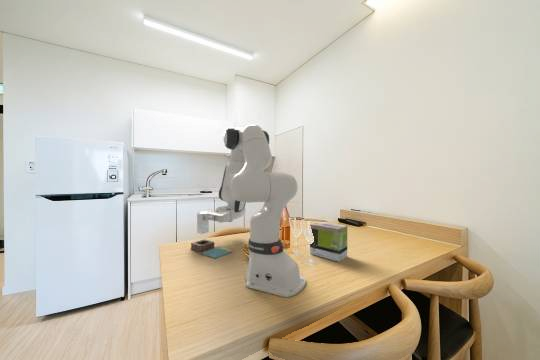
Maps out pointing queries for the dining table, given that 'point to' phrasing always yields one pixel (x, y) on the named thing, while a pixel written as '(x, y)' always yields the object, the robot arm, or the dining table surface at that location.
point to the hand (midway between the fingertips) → (201, 218)
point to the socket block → (202, 245)
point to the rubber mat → (216, 252)
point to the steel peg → (202, 223)
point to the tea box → (329, 241)
